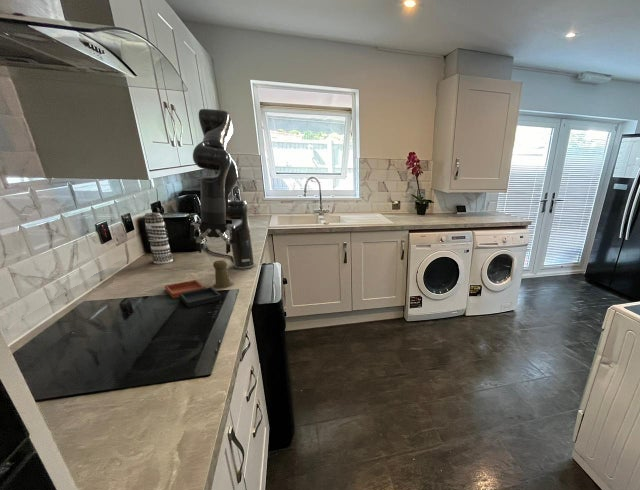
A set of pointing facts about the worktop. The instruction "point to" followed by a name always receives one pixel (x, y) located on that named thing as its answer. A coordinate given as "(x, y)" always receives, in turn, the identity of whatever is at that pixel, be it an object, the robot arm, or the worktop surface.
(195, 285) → the terracotta tray
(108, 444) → the worktop surface
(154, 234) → the white patterned cylinder
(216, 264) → the cork
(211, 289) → the charcoal tray
